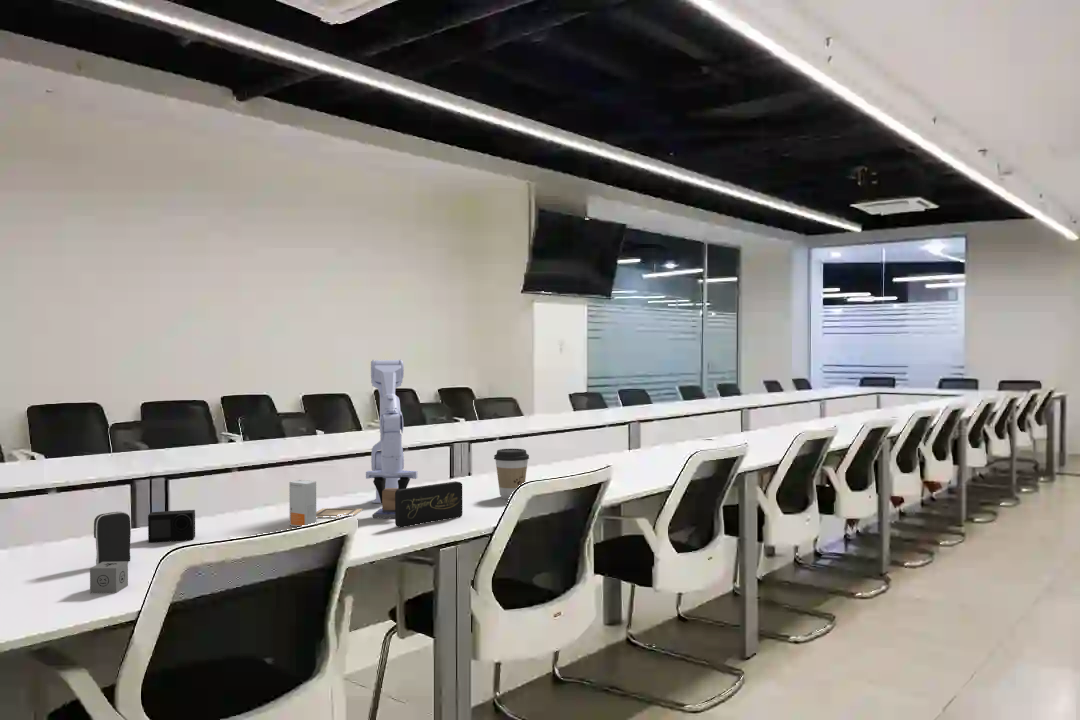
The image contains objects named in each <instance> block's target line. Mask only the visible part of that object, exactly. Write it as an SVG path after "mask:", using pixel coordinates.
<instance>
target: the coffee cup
mask: <svg viewBox="0 0 1080 720" xmlns="http://www.w3.org/2000/svg"><path fill="white" fill-rule="evenodd" d="M493 457H494V458H493V459H494V460H495V466H496V475H497V481H498V483H497V484H498V490H499V496H500V498H501V499H502V498H504V500H509V499H508V498H509V497H510V495H511V494H512V492H513V491H514V490H515V489H516V488H517V487H518V486H519V485H521V484H522V483H524V482H525V483H526V479H527V478H526V477H527V468H528V461H529V460H530V455H529V453H527V450H526V449H524V448H500V449H497V450H496V454H494V455H493Z"/></svg>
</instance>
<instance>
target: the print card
mask: <svg viewBox="0 0 1080 720" xmlns="http://www.w3.org/2000/svg"><path fill="white" fill-rule="evenodd" d="M361 510H362V511H363V508H351V507H350V508H338V507H337V508H330V507H329V508H328V507H327V508H325V507H322V508H321V509H319V510H318V511H317V510H316V517H323V516H329V517H331V516H336V517H339V516H337V515H338V514H343V515H349V514H353V513H354V514H353V515H355V514H356V515H358V514H359V513H361V512H362V511H361ZM358 512H359V513H358ZM344 513H346V514H344ZM357 513H358V514H357ZM356 515H355V516H356ZM340 516H341V515H340Z"/></svg>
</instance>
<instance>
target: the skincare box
mask: <svg viewBox="0 0 1080 720" xmlns="http://www.w3.org/2000/svg"><path fill="white" fill-rule="evenodd" d="M288 485H289V488H288V489H289V491H288V492H289V495H288V496H289V526H290V525H291V526H290V527H297V526H302V525H308V524H311V523H315V522H316V523H317V518H316V512H317V481H313V480H305V479H304V480H303V479H297V480H291V481H289V483H288ZM297 528H298V527H297Z"/></svg>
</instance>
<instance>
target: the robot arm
mask: <svg viewBox="0 0 1080 720" xmlns="http://www.w3.org/2000/svg"><path fill="white" fill-rule="evenodd" d="M404 370H405V369H404V361H403V360H402V359H380V360H379V359H372V360H371V361H370V379H371V381H370V383H371V386H372V387H373V388H376V389H377V391H378V394H379V422H378V423H379V433H380V436H379V437H380V440H379V441H378V442H377V443H375V444H374V445H373V446H372V448H371V455H370V456H371V458H370V459H371V460H370V463H371V470H367V471H365V479H367V480H368V479H373V480H372V482H373V484H374V487H375V499H373V500H372V501H371V503H372V504H378V503H379V504H381V505H382V491H383V490H384V489H385V488H399V489H405V488H408V485H409V483H410V480H411V479H412V480H416V479H418V478H419V477H418V471H417V470H405V469H404V467H405V466H404V465H405V459H404V458H405V456H404V448H403V447H404V446H403V445H402V444H403V443H402V434H403V433H404V417H403V412H402V411H401V402H400V397H399V396H397V395H396V388H398V387H401V386H402V384H403V379H404Z"/></svg>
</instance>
